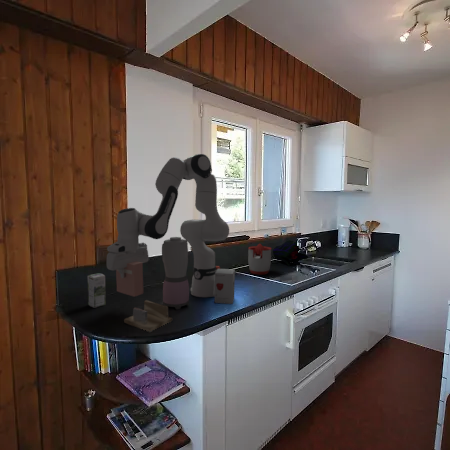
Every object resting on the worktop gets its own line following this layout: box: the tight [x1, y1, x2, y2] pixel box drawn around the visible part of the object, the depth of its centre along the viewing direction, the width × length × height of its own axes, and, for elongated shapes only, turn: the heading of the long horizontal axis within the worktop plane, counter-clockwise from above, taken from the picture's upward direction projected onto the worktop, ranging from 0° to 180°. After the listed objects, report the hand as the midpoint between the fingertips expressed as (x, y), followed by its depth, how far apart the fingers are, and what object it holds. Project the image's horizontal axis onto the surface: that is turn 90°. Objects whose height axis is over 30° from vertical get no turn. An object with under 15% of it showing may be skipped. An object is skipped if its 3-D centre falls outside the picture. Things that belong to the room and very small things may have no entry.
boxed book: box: [115, 261, 144, 298], centre depth 134 cm, size 5×12×14 cm, turn 56°
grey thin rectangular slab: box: [132, 307, 148, 325], centre depth 119 cm, size 1×7×5 cm, turn 56°
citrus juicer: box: [247, 243, 272, 276], centre depth 201 cm, size 16×17×20 cm
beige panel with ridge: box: [123, 299, 173, 333], centre depth 122 cm, size 12×15×6 cm
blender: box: [161, 236, 190, 310], centre depth 142 cm, size 16×12×32 cm
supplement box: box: [214, 268, 236, 305], centre depth 148 cm, size 9×9×15 cm
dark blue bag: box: [272, 239, 309, 267], centre depth 226 cm, size 21×26×30 cm
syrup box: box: [87, 273, 107, 309], centre depth 140 cm, size 6×6×14 cm
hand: (129, 275), depth 134 cm, fingers closed on boxed book, 5 cm apart
